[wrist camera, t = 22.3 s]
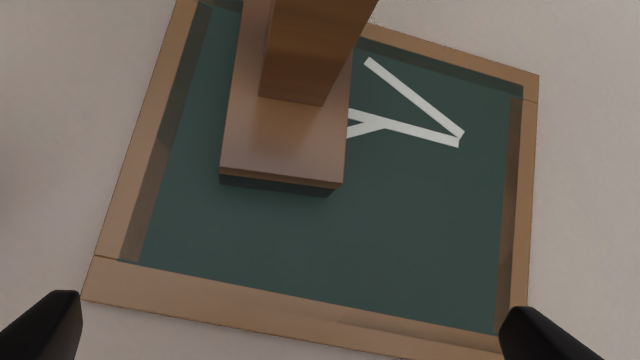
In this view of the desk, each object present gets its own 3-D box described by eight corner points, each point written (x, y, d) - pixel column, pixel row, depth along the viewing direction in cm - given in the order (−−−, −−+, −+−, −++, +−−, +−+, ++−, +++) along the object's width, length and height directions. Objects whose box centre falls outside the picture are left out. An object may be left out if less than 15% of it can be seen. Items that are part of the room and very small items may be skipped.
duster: (327, 198, 23) (427, 107, 12) (219, 184, 22) (214, 70, 11) (342, 14, 26) (433, -200, 15) (247, -6, 25) (266, -251, 14)
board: (511, 377, 24) (524, 381, 23) (84, 299, 20) (77, 299, 19) (529, 82, 29) (540, 74, 28) (188, -22, 25) (187, -35, 24)
